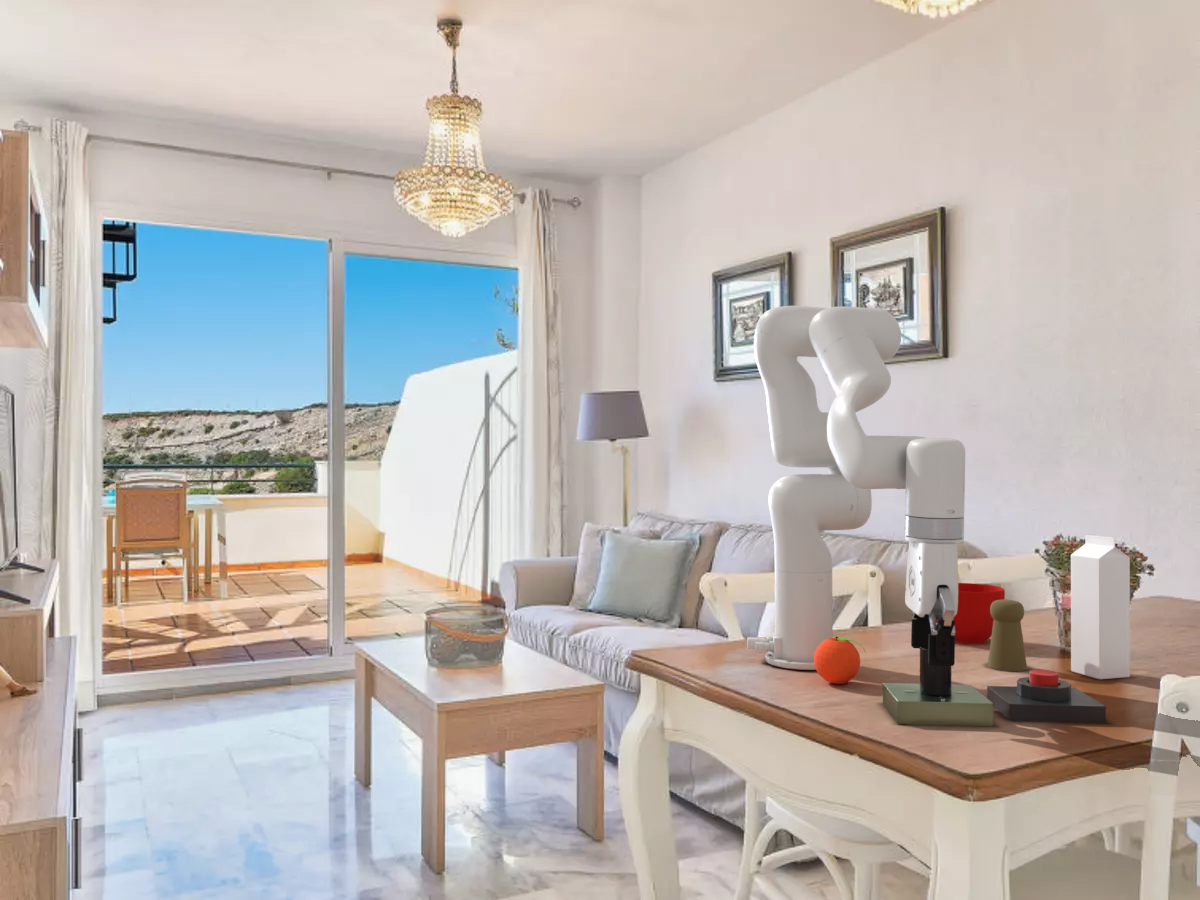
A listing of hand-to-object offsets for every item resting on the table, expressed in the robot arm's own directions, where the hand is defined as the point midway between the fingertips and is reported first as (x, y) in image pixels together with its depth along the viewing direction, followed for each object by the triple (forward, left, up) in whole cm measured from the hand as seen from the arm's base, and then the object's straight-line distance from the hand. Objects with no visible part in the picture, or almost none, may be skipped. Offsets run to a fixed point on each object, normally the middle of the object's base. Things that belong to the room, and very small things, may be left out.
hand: (931, 656), depth 129 cm
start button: (+15, +2, -4) cm, 16 cm away
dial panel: (0, -1, -8) cm, 8 cm away
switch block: (+15, +2, -8) cm, 17 cm away
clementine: (-10, +16, -8) cm, 21 cm away
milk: (+32, +26, -8) cm, 42 cm away
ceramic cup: (+17, +53, -8) cm, 57 cm away
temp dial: (0, -1, -5) cm, 5 cm away
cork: (+19, +30, -8) cm, 37 cm away
